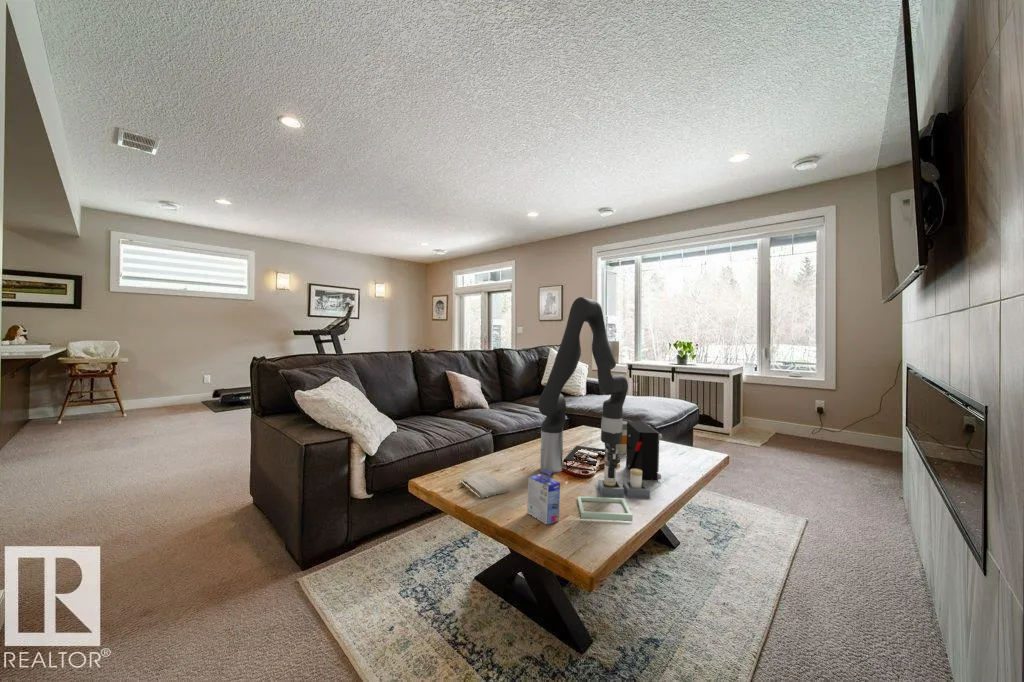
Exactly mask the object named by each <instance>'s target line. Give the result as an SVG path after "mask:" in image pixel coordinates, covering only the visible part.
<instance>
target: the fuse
mask: <svg viewBox="0 0 1024 682" xmlns="http://www.w3.org/2000/svg"><path fill="white" fill-rule="evenodd" d="M609 459H610V458H609ZM611 465H614V463H611ZM603 471H604V472H603V473H604V475H603V478H604V479H603V480H604V485H606V486H615V485H616V481H617V480H616V477H617V468H615V475H614V478H608V461H607V456H605V455H604V470H603Z"/></svg>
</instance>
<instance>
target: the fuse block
mask: <svg viewBox="0 0 1024 682" xmlns="http://www.w3.org/2000/svg"><path fill="white" fill-rule="evenodd" d="M629 472H630V475H629V476H630V479H629V480H622V483H621V481H620V480H615V481H616V485H615V486H606V485H604V479H597V480H598V484H594V487H595V489H596V492H597V495H598V497H605V498H624V499H628V500H629V499H633V500H652V498H651V490H650V488H649V487H648V485H647V484H646V483H645V481H643V480H642V470H640V469H630V471H629Z"/></svg>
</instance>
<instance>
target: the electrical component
mask: <svg viewBox="0 0 1024 682" xmlns="http://www.w3.org/2000/svg"><path fill="white" fill-rule="evenodd" d="M662 439H663V434H662V433H659V431H657V430H656V429H654V428H653V427H652V426H651V425H650V424H647V423H646V422H643V421H632V422H627V446H626V454H625V455H626V456H625V468H627V471H629V472H630V469H640V470H642V481H654V482H655V481H656V482H657V483H659V480H661V479H662V474H661V473H660V472H659V470H660V469H659V466H660V464H659V463H660V440H662Z"/></svg>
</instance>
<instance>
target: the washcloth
mask: <svg viewBox="0 0 1024 682" xmlns="http://www.w3.org/2000/svg"><path fill="white" fill-rule="evenodd" d="M461 480H462V481H463V482H464V483H465V484H467V485H468V486H469V487H470V488H471V489H472V490H473V491H474V492H476V493H477V494H478V495H479V496H480V497H481V498H480V499H485V498H484V497H487V496H490V497H492V496H491V495H494V496H496V495H495V494H499V495H501V494H500V493H503V494H506V493H505V492H507V493H508V492H509V488H508V487H507V486H506V485H505V484H504V483H502V482H501V481H500V480H498V479H497V478H496V477H493V476H492V475H491V474H490V473H488V472H483V473H480V474H477V475H476V474H475V475H468V476H463V477H462V479H461ZM487 498H488V497H487Z"/></svg>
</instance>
